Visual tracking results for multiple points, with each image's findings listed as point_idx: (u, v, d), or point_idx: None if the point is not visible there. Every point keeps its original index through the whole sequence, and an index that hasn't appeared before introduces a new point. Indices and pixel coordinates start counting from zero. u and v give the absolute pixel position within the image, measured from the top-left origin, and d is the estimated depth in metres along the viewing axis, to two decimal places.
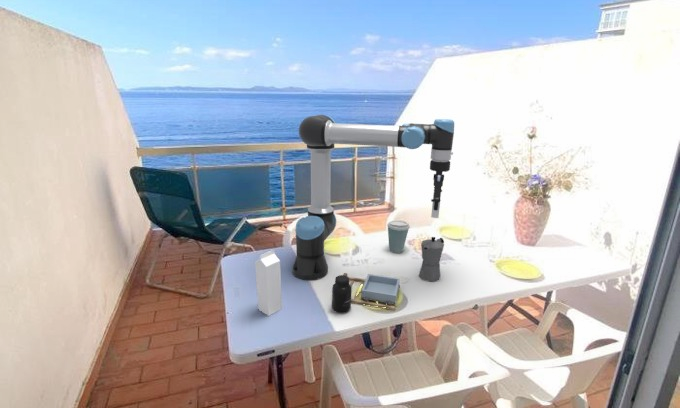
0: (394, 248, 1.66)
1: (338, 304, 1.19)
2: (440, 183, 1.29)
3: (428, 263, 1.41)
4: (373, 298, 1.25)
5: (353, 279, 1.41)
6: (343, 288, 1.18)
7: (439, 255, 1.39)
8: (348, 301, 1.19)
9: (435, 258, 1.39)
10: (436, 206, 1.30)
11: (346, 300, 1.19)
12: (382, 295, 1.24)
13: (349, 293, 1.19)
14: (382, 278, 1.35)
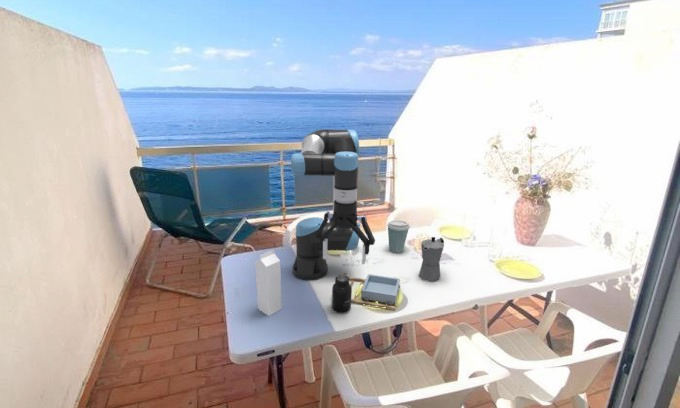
0: (394, 248, 1.66)
1: (338, 304, 1.19)
2: (323, 220, 1.15)
3: (428, 263, 1.41)
4: (373, 298, 1.25)
5: (353, 279, 1.41)
6: (343, 288, 1.18)
7: (439, 255, 1.39)
8: (348, 301, 1.19)
9: (435, 258, 1.39)
10: None
11: (346, 300, 1.19)
12: (382, 295, 1.24)
13: (349, 293, 1.19)
14: (382, 278, 1.35)
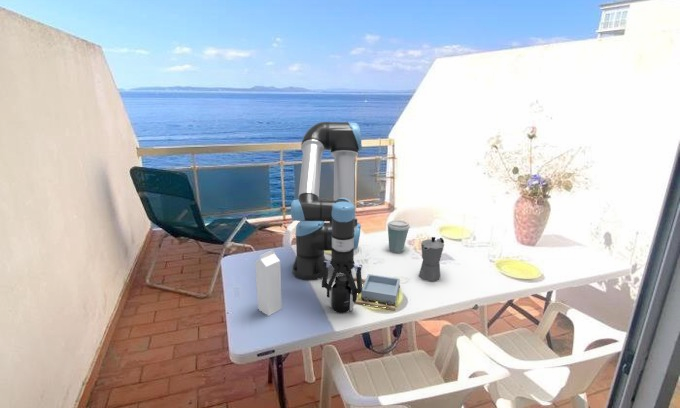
0: (394, 248, 1.66)
1: (338, 304, 1.19)
2: None
3: (428, 263, 1.41)
4: (373, 298, 1.25)
5: None
6: (343, 288, 1.18)
7: (439, 255, 1.39)
8: (348, 301, 1.19)
9: (435, 258, 1.39)
10: None
11: (346, 300, 1.19)
12: (382, 295, 1.24)
13: (349, 293, 1.19)
14: (382, 278, 1.35)
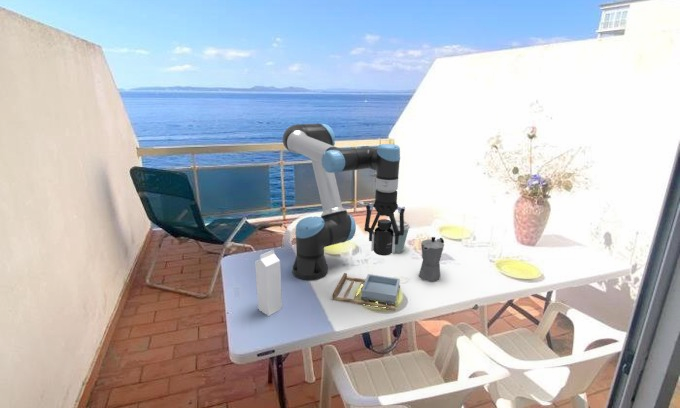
0: None
1: (381, 246, 1.22)
2: None
3: (428, 263, 1.41)
4: (373, 298, 1.25)
5: (353, 279, 1.41)
6: (386, 230, 1.21)
7: (439, 255, 1.39)
8: (390, 243, 1.22)
9: (435, 258, 1.39)
10: None
11: (389, 243, 1.22)
12: (382, 295, 1.24)
13: (392, 235, 1.22)
14: (382, 278, 1.35)
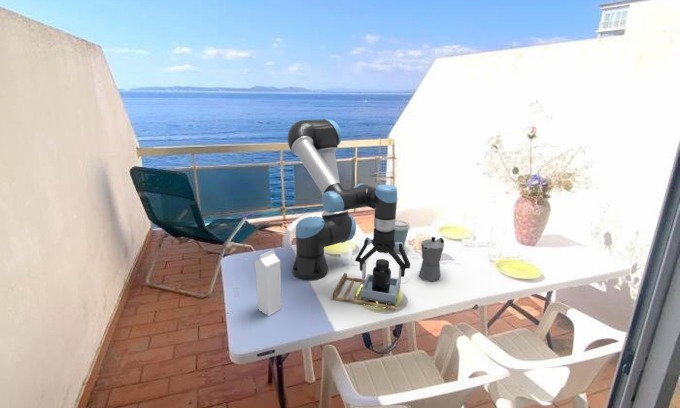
0: (394, 248, 1.66)
1: (379, 286, 1.27)
2: (363, 245, 1.27)
3: (428, 263, 1.41)
4: (373, 298, 1.25)
5: (353, 279, 1.41)
6: (384, 271, 1.26)
7: (439, 255, 1.39)
8: (388, 283, 1.27)
9: (435, 258, 1.39)
10: None
11: (386, 282, 1.26)
12: (382, 295, 1.24)
13: (389, 276, 1.27)
14: None
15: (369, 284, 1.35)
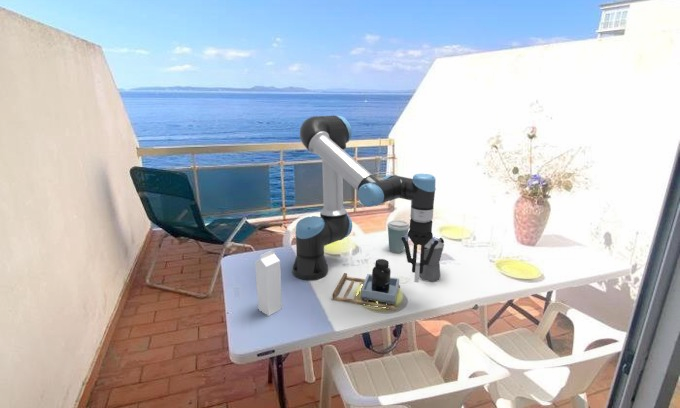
0: (394, 248, 1.66)
1: (378, 286, 1.27)
2: (404, 244, 1.22)
3: None
4: (373, 298, 1.25)
5: (353, 279, 1.41)
6: (383, 271, 1.26)
7: (439, 255, 1.39)
8: (387, 283, 1.27)
9: (435, 258, 1.39)
10: (412, 267, 1.24)
11: (386, 282, 1.26)
12: (382, 295, 1.24)
13: (389, 276, 1.27)
14: None
15: (369, 284, 1.35)
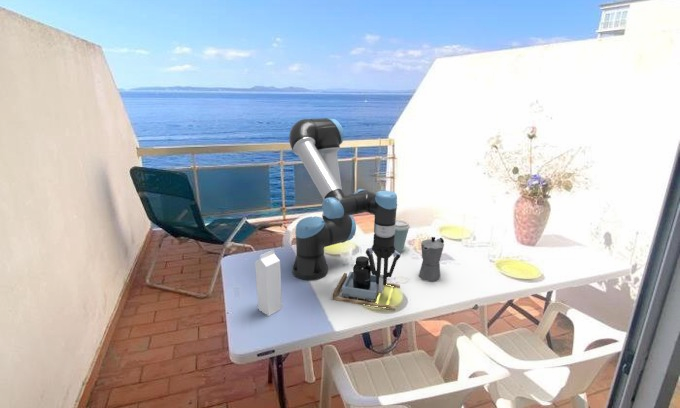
0: None
1: (359, 283, 1.28)
2: None
3: (428, 263, 1.41)
4: (353, 295, 1.27)
5: None
6: (364, 267, 1.28)
7: (439, 255, 1.39)
8: (368, 280, 1.29)
9: (435, 258, 1.39)
10: (376, 279, 1.30)
11: (366, 279, 1.28)
12: (362, 292, 1.26)
13: (369, 272, 1.28)
14: None
15: (351, 281, 1.37)
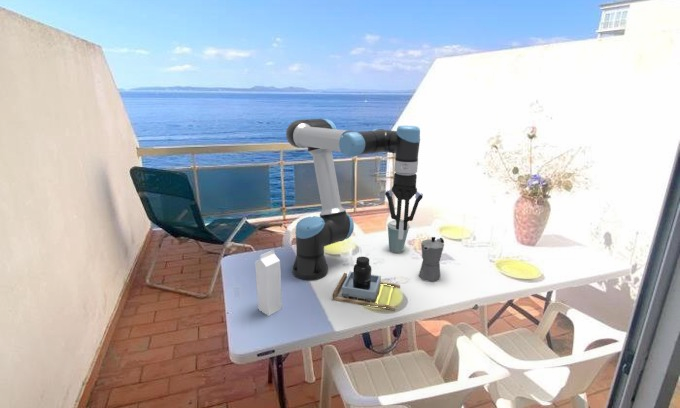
0: (394, 248, 1.66)
1: (359, 283, 1.28)
2: (388, 200, 1.19)
3: (428, 263, 1.41)
4: (353, 295, 1.27)
5: None
6: (364, 268, 1.28)
7: (439, 255, 1.39)
8: (368, 280, 1.29)
9: (435, 258, 1.39)
10: (396, 224, 1.21)
11: (366, 279, 1.28)
12: (362, 292, 1.26)
13: (369, 273, 1.28)
14: None
15: (351, 281, 1.37)
